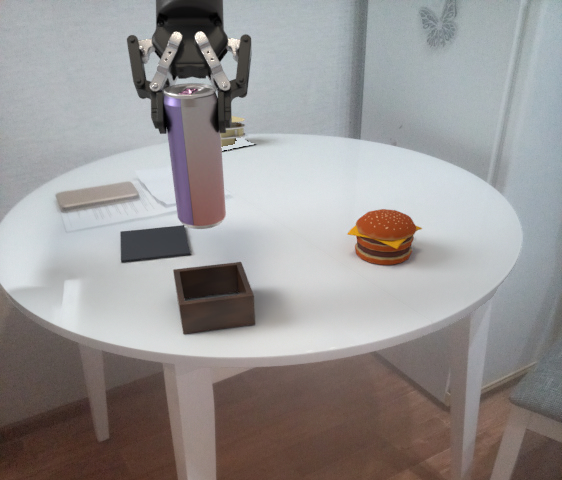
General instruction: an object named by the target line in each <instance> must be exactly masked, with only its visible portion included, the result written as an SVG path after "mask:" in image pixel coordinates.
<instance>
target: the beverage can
mask: <svg viewBox="0 0 562 480" xmlns="http://www.w3.org/2000/svg"><path fill="white" fill-rule="evenodd" d="M164 93H165V96H164V101H163V102H164V110H165V118H166V126H167V134H166V135H167V142H168V150H169V157H170V165H171V174H172V182H173V189H174V191H173V192H174V198H175V205H176V215H177V219H178V221H179V222H180V223H181V225H184V227H185V228H186V227H187V228H189V229H195V230H206V229H212V228H215V227H217V226H220V225H221V224H222V223H223V221H224V220H225V218H226V216H227V210H226V195H225V180H224V164H223V152H222V148H221V133H220V131H219V123H218V94H217V91H216V88H215V87H214V86H212V84H206V83H197V82H190V83H189V82H188V83H177V84H175V85H172V86H169V87H167V88H165V89H164Z"/></svg>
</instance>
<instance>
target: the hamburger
mask: <svg viewBox="0 0 562 480" xmlns="http://www.w3.org/2000/svg"><path fill="white" fill-rule="evenodd" d="M420 230H423V227H421V226H419V225H416V223H415V222H414V221H413V218H411V216H409V215H408V214H406V213H404V212H401V211H398V210H396V209H386V208H381V209H375V210H369V211H367V212H366V213H364V214H362V216H361V217H359V218H358V219H357V220H356V222H355V225H354V226H353V227H351V228H350V230H349V231H348V232H347V234H346V235H348V236H353V237H354V236H355V237H356V243H355V245H354V251H355V254H356V256H358V258H360V259H361V260H362V261H365V262H367V263H370V264H375V265H381V266H382V265H383V266H384V265H385V266H387V265H388V266H390V265H391V266H392V265H396V264H402V263H404V262H405V261H408V260H409V258H410V256H411V255H412V253H413V250H412V243H413V242H414V238H415V237H414V235H415V234H416V233H417V232H418V231H420Z"/></svg>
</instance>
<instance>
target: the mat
mask: <svg viewBox="0 0 562 480" xmlns="http://www.w3.org/2000/svg"><path fill="white" fill-rule="evenodd" d="M119 234H120V262H121V263H131V262H140V261H148V260H155V259H156V260H158V259H165V258H166V259H167V258H175V257H176V258H177V257H184V256H191V255H192V252H191V249H190V245H189V240H188V236H187V231H186V226H184V225H183V224H180V225H173V226H162V227H161V226H160V227H152V228H151V227H150V228H141V229H132V230H122V231H120V233H119Z"/></svg>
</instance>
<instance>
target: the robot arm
mask: <svg viewBox="0 0 562 480" xmlns="http://www.w3.org/2000/svg"><path fill="white" fill-rule="evenodd" d="M224 22H225V19H224V0H155V30H154V32H153V34H152V36H151V38H147V39H139V38H138V37H137V36H136V35H135V34H129V35H128V36H127V38H126V44H127V51H128V57H129V64H130V71H131V77H132V82H133V85H134V88H135V90H136V93H137V96H138V98H139V99H142V100H145V99H148V100H150V119H151V122H152V124H153V127H154V129H157V130H158V132H159V134H160V135H168V134H167V126H166V118H165V110H164V102H163V101H164V96H165V93H164V89H165V88H167V87H169V86H172V85H176V83H177V81H178V79H179V80H184V79H185V80H186V79H189V78H195V79H199V80H201V79H207V78H208V81H209V82H210V85H211V86H214V87H215V88H216V94H217V98H218V123H219V131H220V133H226V128H230V127H231V124H232V116H233V115H232V102H233V100H234V99H237V98H240V99H244V98H246V97H247V96H248V92H249V91H248V90H249V81H250V73H251V65H252V56H253V55H252V54H253V53H252V52H253V51H252V37H251V36H250V35H249V34H247V33H245V34H242V35H241V36H240V38H232V37H228V35H227V33H226V31H225V26H224V25H225V24H224ZM229 52H230V53H231V54H232V59H233V61H235V62H236V63H237V65H236V73H235V74H236V75H235V78H233V79H231V80H229V79H228V77H227V74H226V73H225V71H224V68H223V66H222V63H221V62H222V61H223V59H224V57H225V56H226V55H227V54H228V53H229ZM152 53H155V55H156V56H157V57H158V59H159V61H158V63H157V65H156V71H155V73H154V76H153V78H152V79H151V81H150V80H147V74H146V68H145V65H147V64H148V62H149V60H150V57H151V54H152Z"/></svg>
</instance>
